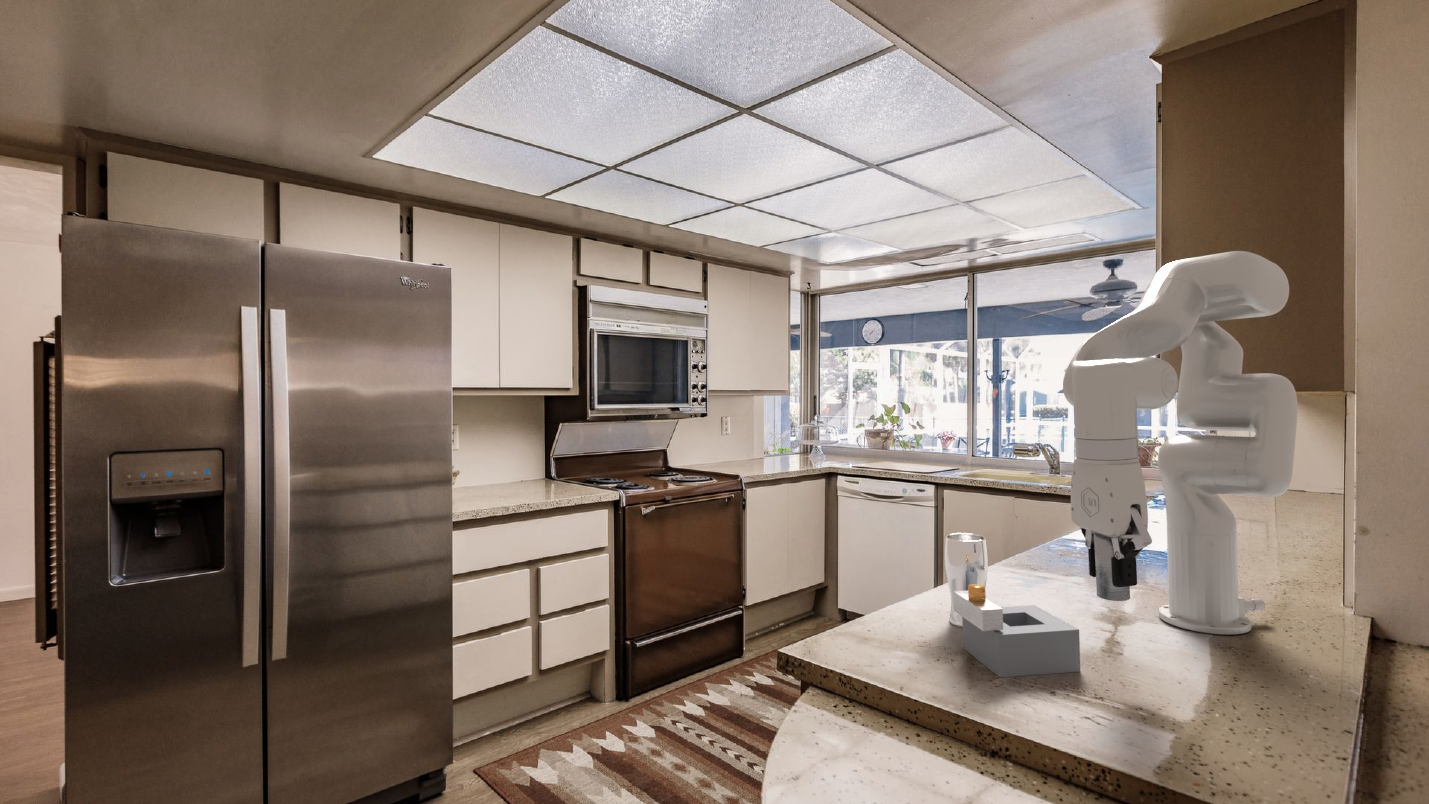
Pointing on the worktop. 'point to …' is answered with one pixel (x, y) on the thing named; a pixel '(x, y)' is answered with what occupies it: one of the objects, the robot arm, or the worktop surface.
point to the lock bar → (978, 608)
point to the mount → (1025, 643)
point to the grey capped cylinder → (1107, 569)
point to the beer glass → (964, 565)
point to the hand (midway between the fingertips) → (1112, 579)
